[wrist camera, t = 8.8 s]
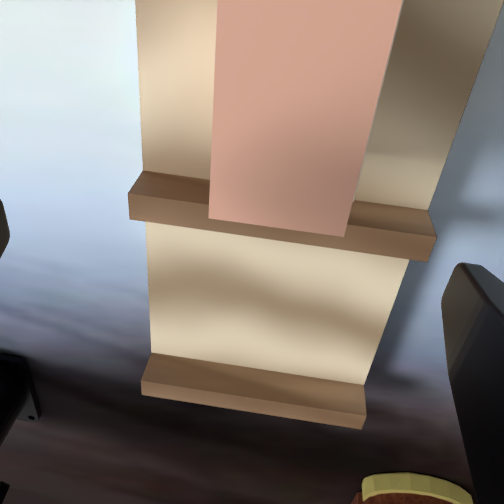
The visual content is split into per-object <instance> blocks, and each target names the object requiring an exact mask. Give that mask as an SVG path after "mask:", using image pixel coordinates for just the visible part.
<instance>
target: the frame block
mask: <svg viewBox="0 0 504 504" xmlns="http://www.w3.org/2000/svg"><path fill="white" fill-rule="evenodd" d="M403 2H404V0H217V24H216V49H215V73H214V97H213V121H212V145H211V169H210V193H209V217H208V218H210V219H217V220H224V221H232V222H239V223H246V224H253V225H260V226H268V227H275V228H282V229H289V230H296V231H304V232H311V233H318V234H325V235H332V236H340V237H344V235H345V231H346V227H347V222H348V218H349V214H350V210H351V206H352V202H354V198H355V194H356V190H357V186H358V182H359V178H360V174H361V170H362V166H363V162H364V158H365V154H366V150H367V146H368V142H369V138H370V134H371V130H372V126H373V122H374V118H375V114H376V110H377V106H378V102H379V98H380V94H381V90H382V86H383V82H384V78H385V74H386V70H387V66H388V62H389V58H390V54H391V50H392V46H393V42H394V38H395V34H396V30H397V26H398V22H399V18H400V14H401V10H402V6H403Z"/></svg>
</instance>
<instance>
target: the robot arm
mask: <svg viewBox="0 0 504 504" xmlns="http://www.w3.org/2000/svg"><path fill="white" fill-rule="evenodd" d="M9 237H10V232H9V227H8V223H7V219H6V214H5V210H4V206H3V203H2V201H1V199H0V258H1V256H2V254H3V252H4V250H5V248H6V246H7V244H8V242H9ZM441 309H442V319H443V329H444V339H445V350H446V360H447V368H448V375H449V380H450V385H451V390H452V394H453V398H454V403H455V407H456V412H457V416H458V420H459V425H460V429H461V434H462V438H463V443H464V447H465V451H466V456H467V460H468V465H469V469H470V473H471V478H472V482H473V487H474V491H475V495H476V500H477V504H504V282H502V281H501V280H500V279H498V278H497V277H496V276H495V275H493V274H492V273H491V272H489V271H488V270H487V269H485V268H484V267H483V266H481V265H478V264H470V263H463V262H462V263H459V264H457V265H456V267H455V268H454V270H453V273H452V275H451V277H450V279H449V282H448V284H447V286H446V289H445V291H444V293H443V296H442V301H441ZM40 416H41V412H40V409H39V405H38V402H37V398H36V394H35V391H34V387H33V384H32V380H31V377H30V373H29V369H28V366H27V363H26V361H25V360H24V359H22V358H20V357H15V356H9V355H3V354H0V446H1V444H2V442H3V441H4V439H5V437H6V436H7V434H8V432H9V430H10V429H11V427H12V425H13V424H14V422H15V420H16V419H18V420H24V421H30V422H37V421H38V420H39V418H40ZM9 486H10V485H9V484H7V483H5V482H3V481H1V482H0V504H2V503H3V500H4V498H5V496H6V493H7V491H8V489H9Z"/></svg>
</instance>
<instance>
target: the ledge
mask: <svg viewBox="0 0 504 504" xmlns="http://www.w3.org/2000/svg"><path fill="white" fill-rule="evenodd" d="M503 3H504V0H404V2H403V6H402V10H401V14H400V18H399V22H398V26H397V30H396V34H395V38H394V42H393V46H392V50H391V54H390V58H389V62H388V66H387V70H386V74H385V78H384V82H383V86H382V90H381V94H380V98H379V102H378V106H377V110H376V114H375V118H374V122H373V126H372V130H371V134H370V138H369V142H368V146H367V150H366V154H365V158H364V162H363V166H362V170H361V174H360V178H359V182H358V186H357V190H356V194H355V198H354V202H352V206H351V210H350V214H349V218H348V222H347V227H346V231H345V235H344V237H340V236H332V235H325V234H318V233H311V232H304V231H296V230H289V229H282V228H275V227H268V226H260V225H253V224H246V223H239V222H232V221H224V220H217V219H210V218H208V217H209V193H210V169H211V145H212V121H213V97H214V73H215V49H216V24H217V0H135V5H136V26H137V48H138V70H139V92H140V113H141V135H142V157H143V171H142V173H141V174H140V176H139V177H138V179H137V180H136V182H135V183H134V185H133V186H132V188H131V189H130V191H129V192H128V203H129V217H130V219H131V220H138V221H145V222H146V244H147V266H148V287H149V309H150V331H151V355H150V358H149V360H148V363H147V366H146V368H145V371H144V374H143V376H142V379H141V391H142V395H146V396H153V397H159V398H165V399H172V400H178V401H184V402H191V403H197V404H203V405H210V406H216V407H222V408H229V409H235V410H241V411H248V412H254V413H260V414H267V415H273V416H280V417H286V418H292V419H299V420H305V421H311V422H318V423H324V424H330V425H337V426H343V427H349V428H356V429H362V426H363V424H364V421H365V419H366V416H367V415H366V404H365V393H364V383H365V380H366V378H367V375H368V372H369V369H370V367H371V364H372V361H373V359H374V356H375V353H376V350H377V348H378V345H379V342H380V339H381V337H382V334H383V331H384V328H385V326H386V323H387V320H388V317H389V315H390V312H391V309H392V307H393V304H394V301H395V298H396V296H397V293H398V290H399V287H400V285H401V282H402V279H403V276H404V274H405V271H406V268H407V265H408V263H409V260H416V261H423V262H428V259H429V257H430V254H431V252H432V249H433V246H434V244H435V241H436V239H437V236H436V233H435V230H434V227H433V224H432V221H431V218H430V215H429V213H428V208H429V205H430V203H431V200H432V197H433V194H434V192H435V189H436V186H437V183H438V181H439V178H440V175H441V172H442V170H443V167H444V164H445V162H446V159H447V156H448V153H449V151H450V148H451V145H452V142H453V140H454V137H455V134H456V131H457V129H458V126H459V123H460V120H461V118H462V115H463V112H464V110H465V107H466V104H467V101H468V99H469V96H470V93H471V90H472V88H473V85H474V82H475V79H476V77H477V74H478V71H479V68H480V66H481V63H482V60H483V58H484V55H485V52H486V49H487V47H488V44H489V41H490V38H491V36H492V33H493V30H494V27H495V25H496V22H497V19H498V16H499V14H500V11H501V8H502V6H503Z"/></svg>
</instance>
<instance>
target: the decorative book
mask: <svg viewBox="0 0 504 504" xmlns="http://www.w3.org/2000/svg"><path fill="white" fill-rule="evenodd" d="M350 504H473V501H472V497H471V495H470V494H469V493H468V492H466V491H465V490H464V489H462V488H461V487H460V486H458V485H455V484H453V483H451V482H448V481H446V480H443V479H439V478H436V477H432V476H428V475H422V474H416V473H409V472H405V473H384V474H373V475H371V476H368V477H366V478H364V480H363V483H362V491H361V492H358V493H357V494H356V496H355V497H354V499H353V500H352V502H351V503H350Z"/></svg>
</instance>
